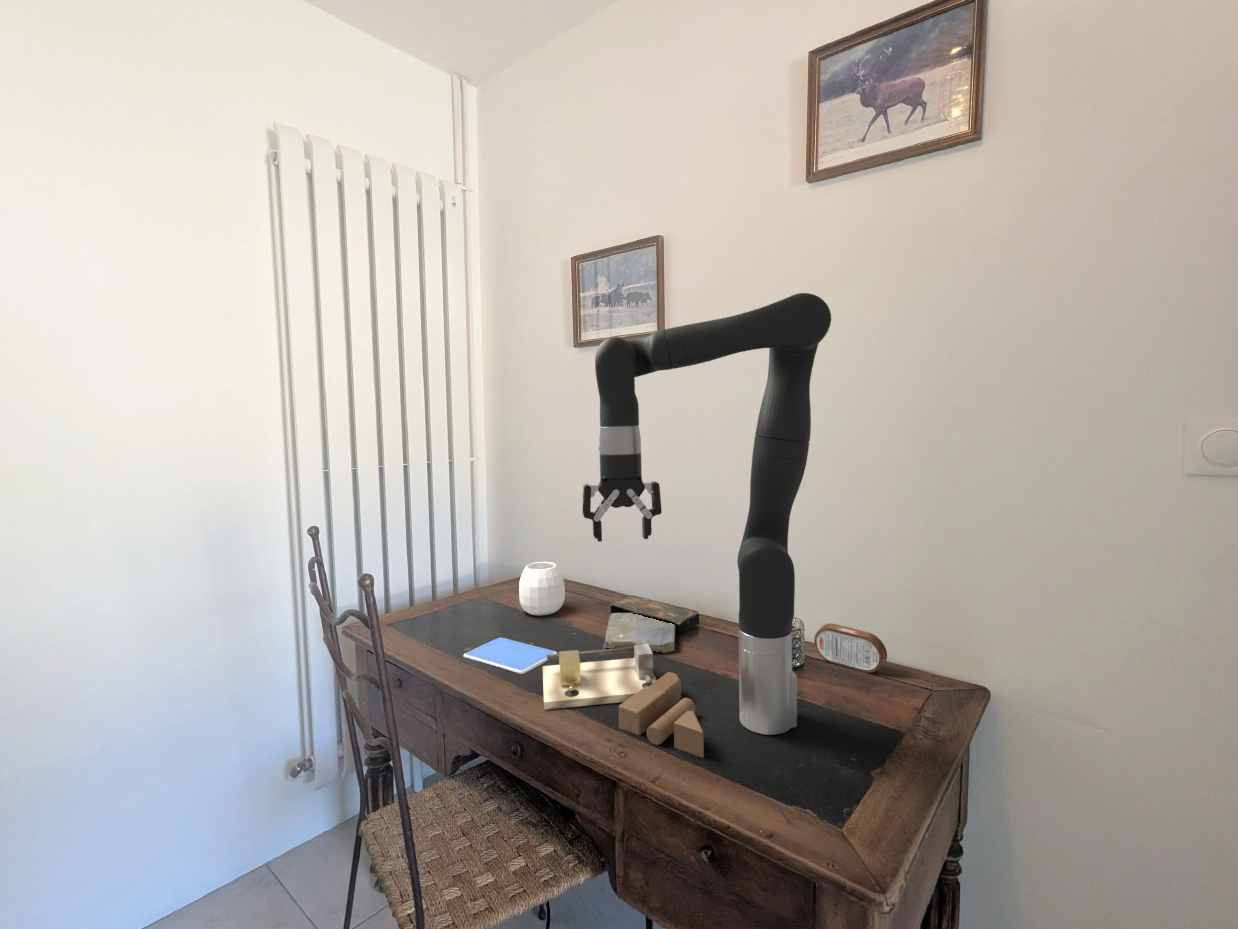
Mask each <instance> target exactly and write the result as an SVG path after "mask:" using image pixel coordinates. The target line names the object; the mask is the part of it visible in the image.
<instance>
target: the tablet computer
mask: <svg viewBox="0 0 1238 929" xmlns="http://www.w3.org/2000/svg"><path fill="white" fill-rule="evenodd" d="M548 654H558V652H557V651H555V650H552V649H548V648H544V647H540V646H535V645H531V644H528V643H525V642H520V641H516V640H512V639H509V638H504V637H498V638H495V639H493V640H491V641H489V642H486V643H484V644H482V645H480V646H478V647H475V648H474V649H472V650H469V651H467V652H465V653H464V654H463V658H466V659H468V658H469V660H473V661H476V662H480V663H483V664H487V665H490V666H493V667H496V668H499V667H500V669H504V670H507V671H509V672H513V673H516V674H519V675H525V674H526V673H527V674H528V673H529V672H530V671H532V670H534V669H535V668H538V667H539V666H541V665H543V664H544V663H545V662H548V661H550V660H551V659H547V655H548Z"/></svg>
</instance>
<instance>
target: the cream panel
mask: <svg viewBox="0 0 1238 929" xmlns="http://www.w3.org/2000/svg"><path fill="white" fill-rule="evenodd" d="M578 653H579V658H580V657H582V658H583V657H589V656H590V657H593V656H603V655H612V654H613V655H614V654H624V653H634V656H633V658H632V657H631V658H630V657H629V658H621V659H620V658H619V659H611V660H610V659H609V660H608V659H607V660H598V661H597V660H596V661H585V662H580V679H581V684H574V685H573V686H574V691H572V692H571V691H570V690H569V685H563V686H561V682H560V667H559V664H552V665H544V666H542V681H543V682H542V684H543V686H542V687H543V689H542V690H543V710H544V711H547V710H556V709H566V708H567V709H568V708H576V707H578V708H579V707H586V706H587V707H588V706H595V705H596V706H597V705H605V704H606V705H607V704H618V703H623V702H625V701H626V700H628V699H629V698H630V697H632V696H633V695H634V694H636V693H637V692H638V691H640V690H641V689H643V688H644V687H646V686H648V687H649V686H650V685H651V684H653V683H654V682H655V681H657V680H658V679H657V678H656V675H655V674H654V653H653V651H651V649H650V647H649V645H648V644H642V645H634V647H629V648H617V649H596V650H595V649H594V650H585V651H578ZM547 659H550V660H556V659H558V660H559V653H557V654H548V655H547Z"/></svg>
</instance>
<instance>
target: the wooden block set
mask: <svg viewBox="0 0 1238 929" xmlns="http://www.w3.org/2000/svg"><path fill="white" fill-rule="evenodd" d="M656 680H657V681H655V682H654V683H653V684H651V685H650V686H649V687H648V686H646V687H644V688H643V689H641V690H640V691H638V692H637V693H636V694H634V695H633V696H632V697H630V698H629V699H628V700H626V701H625V702H621V704H619V706H618V728H619V729H620V730H623V731H626V732H629V733H632V734H634V735H637V736H641V735H643V733H645V732H646V737H647V739H648V741H649V742H650V743H651V744H653V745H655V746H659V745H662V743H663V742H664V741H666V740H667V739H668V738H669V737H670V736H671V735H673V740H674V741H673V742H674V743H673V744H674V745H673V746H674V748H675V749H677V750H680V751H682V752H685V753H689V754H691V755H693V756H697V757H698V758H702V759H704V758H705V753H704V752H705V751H704V749H705V748H704V747H705V746H704V745H705V744H704V731H703V730H702V727H701V725H700V723H699V720H698V718H697V716H696V714H695V712H696V710H697V706H696V704H695V702H694V701H693V700H692V699H691V698H688V697H684V698H682V686H681V685H682V681H681V679H680V678H679V676H678V674H677V673H674V672H671V671H668V672H667V673H665V674H663V675H662V676H661V677H660V678H658V679H656Z"/></svg>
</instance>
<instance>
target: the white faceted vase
mask: <svg viewBox="0 0 1238 929" xmlns="http://www.w3.org/2000/svg"><path fill="white" fill-rule="evenodd" d="M518 586H519V587H518V596H519V604H520V606H521V608H522V610H524V612H526V613H528V614H529V615H533V616H548V615H552V614H554V613H556V612H558V611H559V610H560V609H561V608H562V606H563V605H564V602H565V599H566V598H565V597H566V590H565V589H566V588H565V582H564V578H563V575H562V572H561V571H560V568H558V565H557V564H556V563H554V562H551V561H550V562H549V561H538V562H532V563H528V564H527V565H525V567H524V569H523V570H522V573H521V575H520V578H519V585H518Z"/></svg>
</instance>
